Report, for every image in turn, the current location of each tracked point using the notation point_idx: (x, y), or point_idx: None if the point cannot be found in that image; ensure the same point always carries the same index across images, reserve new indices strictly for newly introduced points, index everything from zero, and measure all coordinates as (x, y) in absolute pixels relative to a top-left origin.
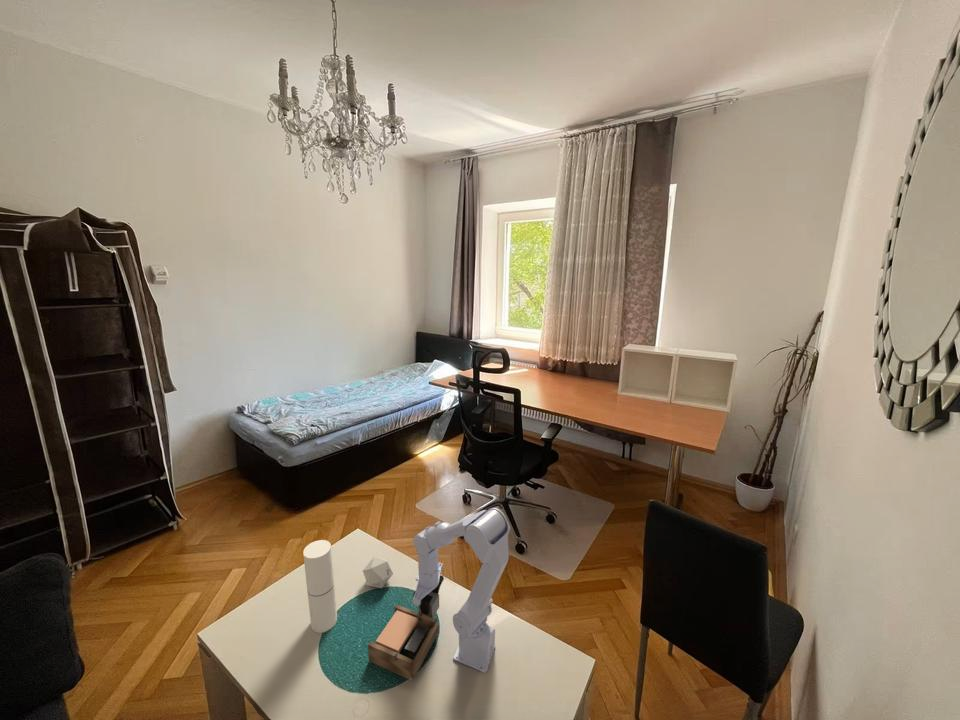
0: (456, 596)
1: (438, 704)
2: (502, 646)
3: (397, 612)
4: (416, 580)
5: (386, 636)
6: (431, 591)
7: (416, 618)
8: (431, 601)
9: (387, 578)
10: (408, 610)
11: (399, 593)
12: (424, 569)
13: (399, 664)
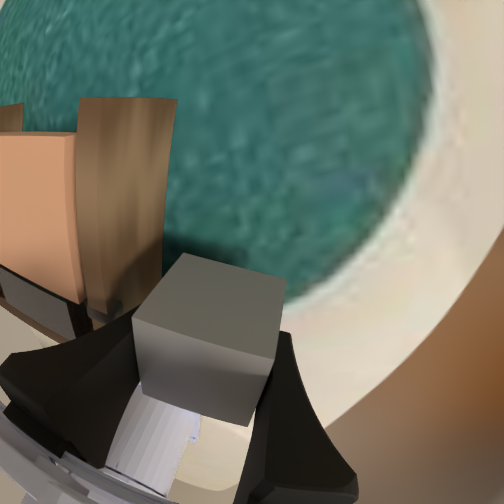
0: (372, 369)
1: (37, 330)
2: (203, 446)
3: (54, 150)
4: (49, 485)
5: None
6: (264, 393)
7: (74, 295)
8: (174, 394)
9: None
10: (89, 227)
11: (379, 43)
12: None
13: None
